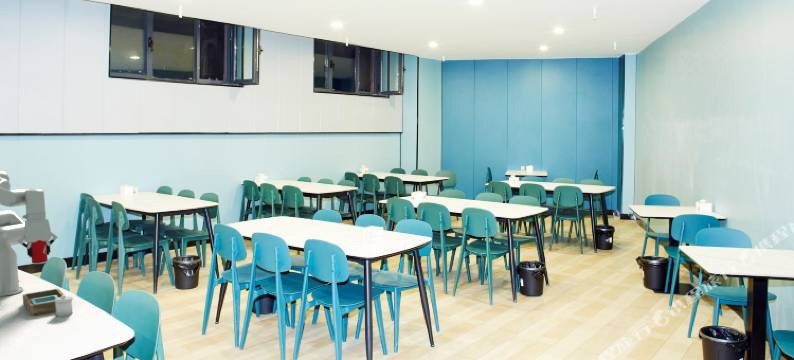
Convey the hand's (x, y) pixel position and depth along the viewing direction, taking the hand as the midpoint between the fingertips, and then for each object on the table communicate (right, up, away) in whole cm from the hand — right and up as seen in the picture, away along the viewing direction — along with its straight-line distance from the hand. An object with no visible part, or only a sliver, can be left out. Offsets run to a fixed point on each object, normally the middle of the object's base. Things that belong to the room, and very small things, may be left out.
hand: (39, 255), depth 271 cm
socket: (+10, -21, -13) cm, 27 cm away
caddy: (+10, -21, -13) cm, 27 cm away
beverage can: (0, -4, 0) cm, 4 cm away
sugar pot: (+25, -22, -23) cm, 40 cm away
